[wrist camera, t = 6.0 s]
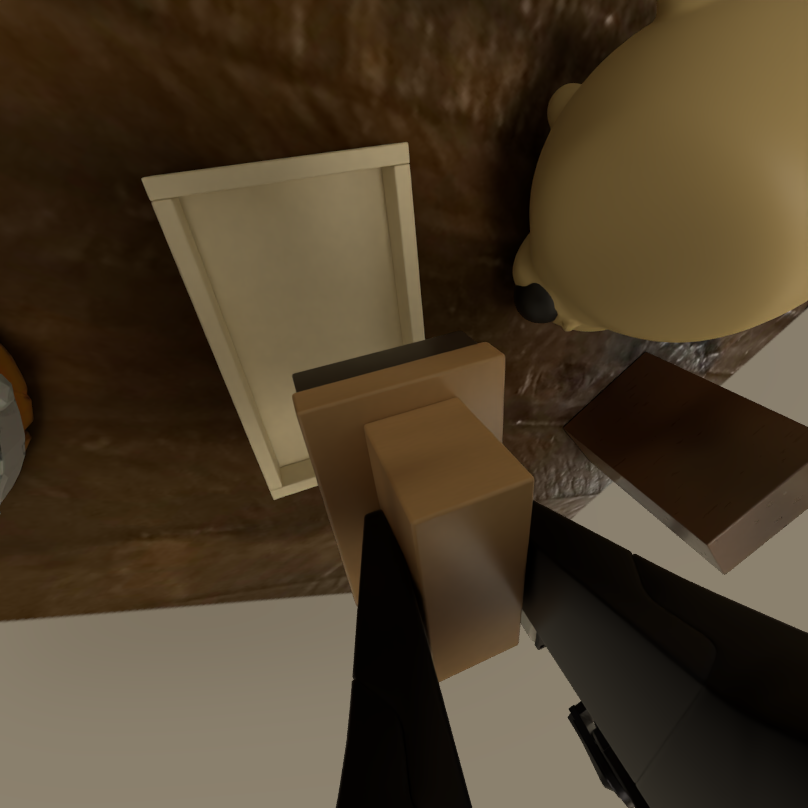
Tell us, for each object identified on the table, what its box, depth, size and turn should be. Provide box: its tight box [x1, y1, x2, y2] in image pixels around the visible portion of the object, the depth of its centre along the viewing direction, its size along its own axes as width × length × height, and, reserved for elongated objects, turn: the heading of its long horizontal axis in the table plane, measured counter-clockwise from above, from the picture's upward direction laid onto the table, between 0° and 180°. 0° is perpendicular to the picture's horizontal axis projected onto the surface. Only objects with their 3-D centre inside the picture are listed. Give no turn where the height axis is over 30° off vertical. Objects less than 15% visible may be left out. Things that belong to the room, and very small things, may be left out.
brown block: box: [563, 352, 808, 575], centre depth 23 cm, size 7×5×10 cm
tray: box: [141, 142, 425, 499], centre depth 17 cm, size 13×8×2 cm, turn 7°
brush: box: [292, 331, 535, 682], centre depth 9 cm, size 6×4×4 cm
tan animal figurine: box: [513, 0, 808, 342], centre depth 15 cm, size 10×12×11 cm
